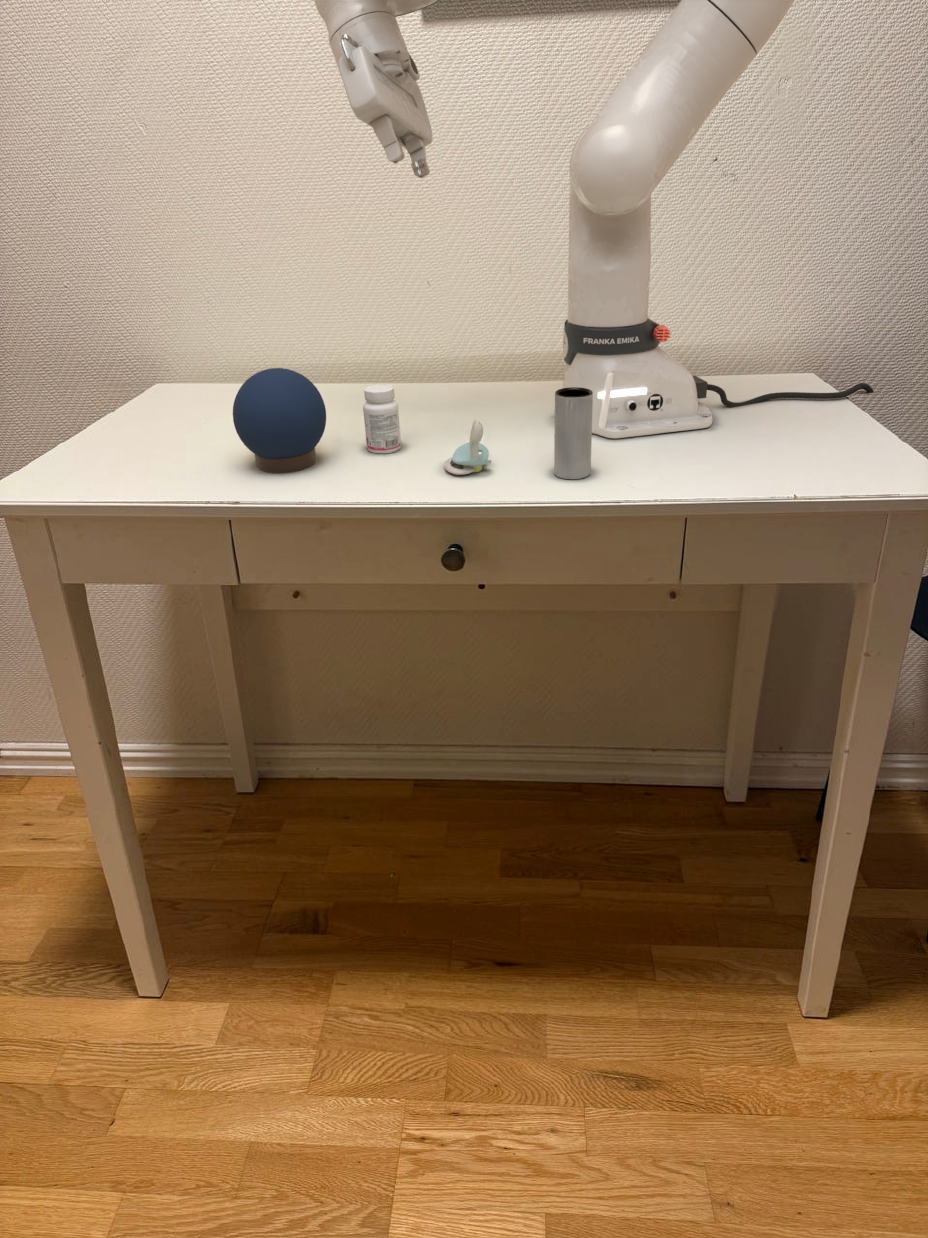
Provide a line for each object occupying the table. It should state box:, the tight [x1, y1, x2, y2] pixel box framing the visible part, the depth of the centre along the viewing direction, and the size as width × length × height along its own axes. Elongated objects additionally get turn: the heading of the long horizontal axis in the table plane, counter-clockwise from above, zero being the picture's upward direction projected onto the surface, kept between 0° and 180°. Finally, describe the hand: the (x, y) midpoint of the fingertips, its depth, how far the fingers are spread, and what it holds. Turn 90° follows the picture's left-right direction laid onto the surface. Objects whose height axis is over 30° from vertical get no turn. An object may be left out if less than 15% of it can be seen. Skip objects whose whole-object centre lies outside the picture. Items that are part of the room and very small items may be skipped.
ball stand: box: [254, 447, 317, 474], centre depth 122 cm, size 8×8×2 cm
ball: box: [232, 367, 327, 459], centre depth 119 cm, size 12×12×12 cm
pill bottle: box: [362, 383, 402, 454], centre depth 124 cm, size 5×5×8 cm
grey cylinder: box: [553, 387, 593, 480], centre depth 112 cm, size 4×4×10 cm
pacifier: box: [443, 419, 492, 476], centre depth 116 cm, size 7×6×6 cm
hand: (410, 168), depth 116 cm, fingers open, 8 cm apart
